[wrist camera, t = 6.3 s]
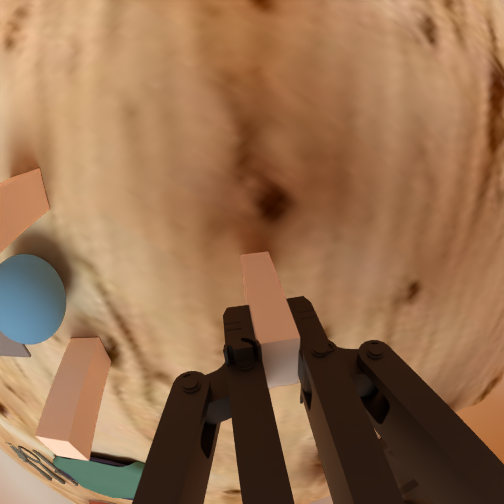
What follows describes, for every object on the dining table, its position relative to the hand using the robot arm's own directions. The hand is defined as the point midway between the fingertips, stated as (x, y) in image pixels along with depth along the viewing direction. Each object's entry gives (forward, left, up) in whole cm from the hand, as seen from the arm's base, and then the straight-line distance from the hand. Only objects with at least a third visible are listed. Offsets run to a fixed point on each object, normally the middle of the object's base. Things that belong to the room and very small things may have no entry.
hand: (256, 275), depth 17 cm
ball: (+14, -1, +1) cm, 14 cm away
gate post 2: (+13, +6, -2) cm, 15 cm away
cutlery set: (+29, +36, -3) cm, 46 cm away
